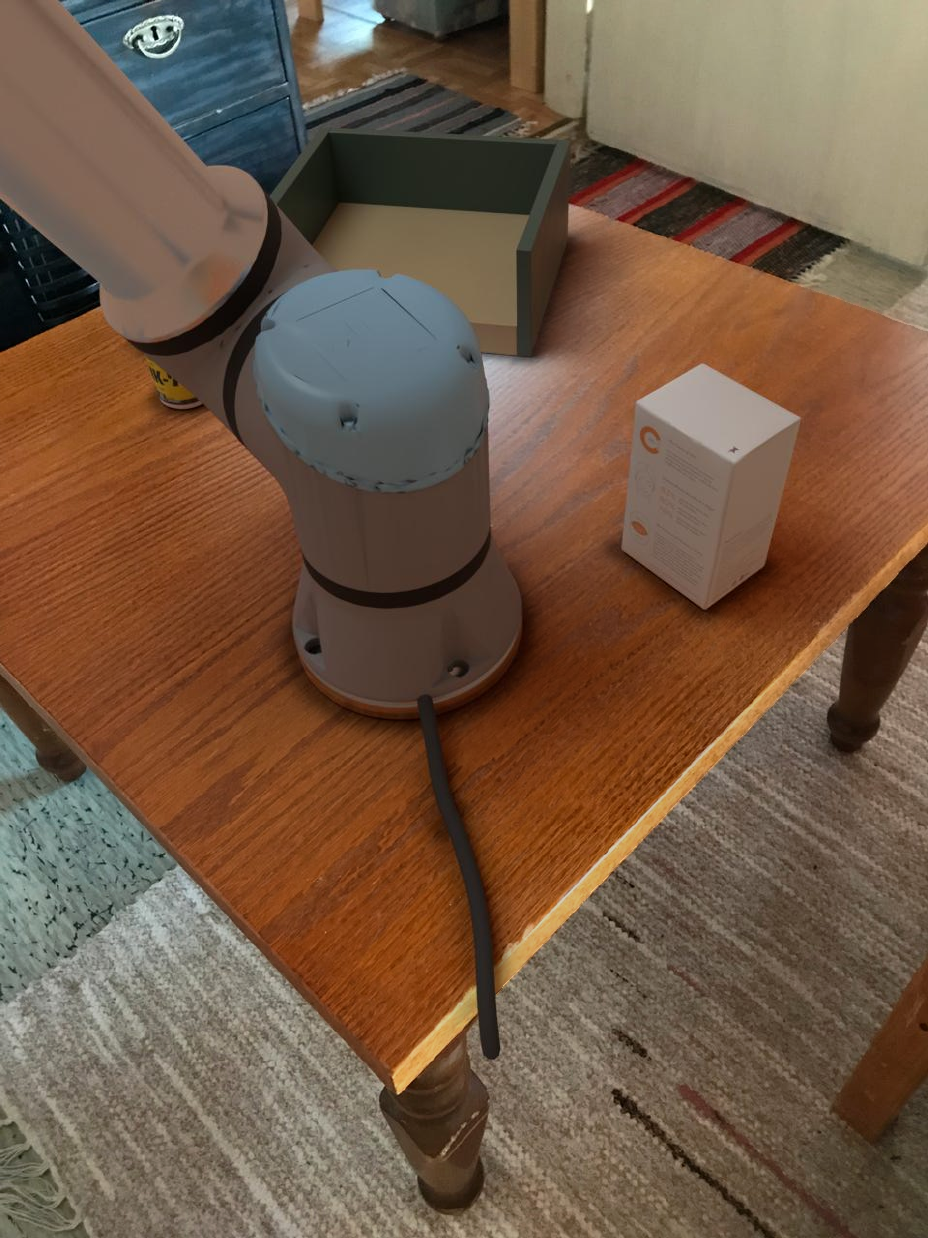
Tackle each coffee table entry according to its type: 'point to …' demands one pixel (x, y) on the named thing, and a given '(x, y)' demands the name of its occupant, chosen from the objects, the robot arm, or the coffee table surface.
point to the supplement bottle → (171, 389)
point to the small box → (706, 482)
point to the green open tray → (441, 218)
